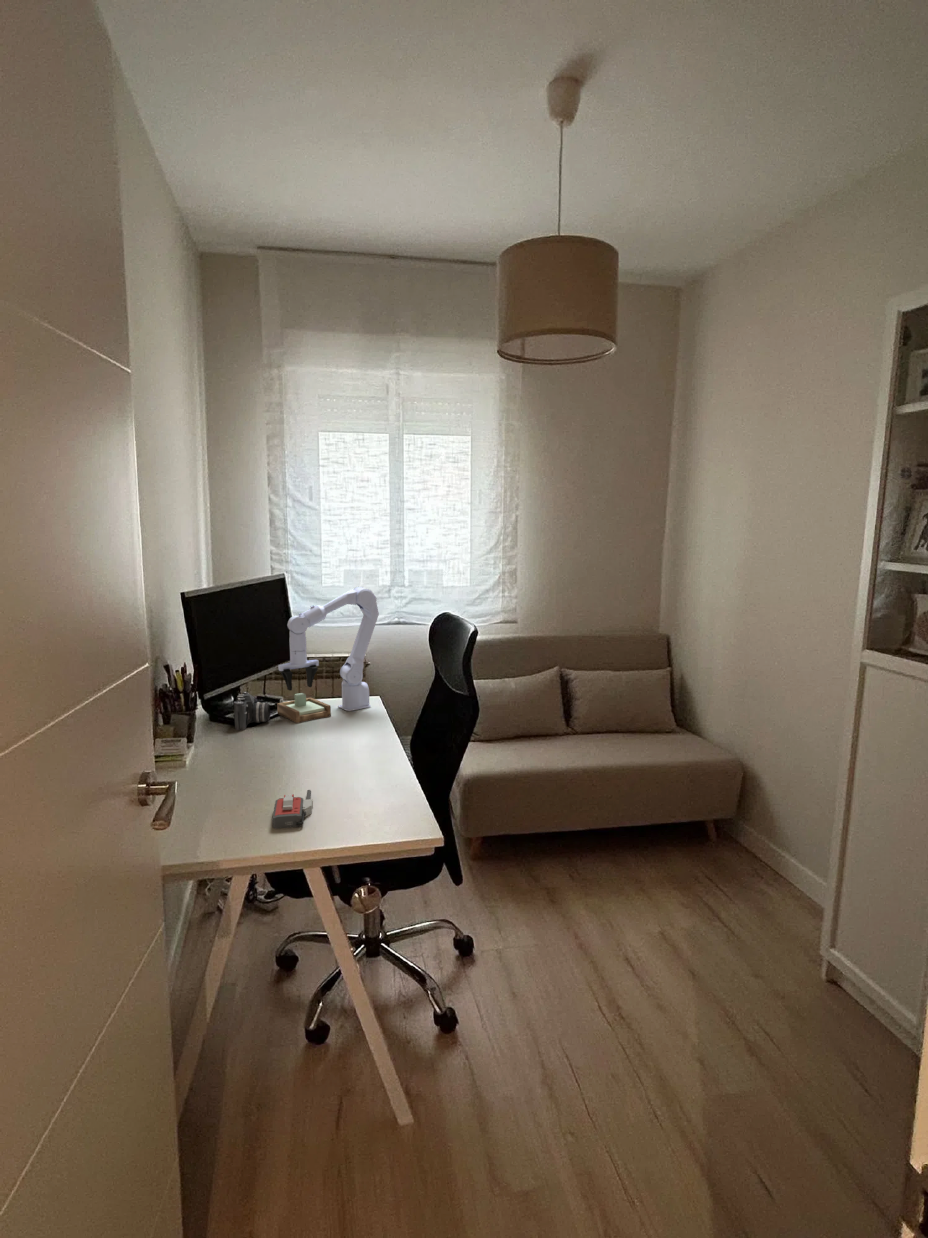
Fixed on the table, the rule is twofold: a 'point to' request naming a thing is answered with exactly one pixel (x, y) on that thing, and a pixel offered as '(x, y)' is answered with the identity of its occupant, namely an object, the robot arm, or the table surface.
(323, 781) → the table surface
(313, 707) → the lid
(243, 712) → the camera
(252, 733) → the table surface
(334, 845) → the table surface
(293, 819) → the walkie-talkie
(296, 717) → the box
